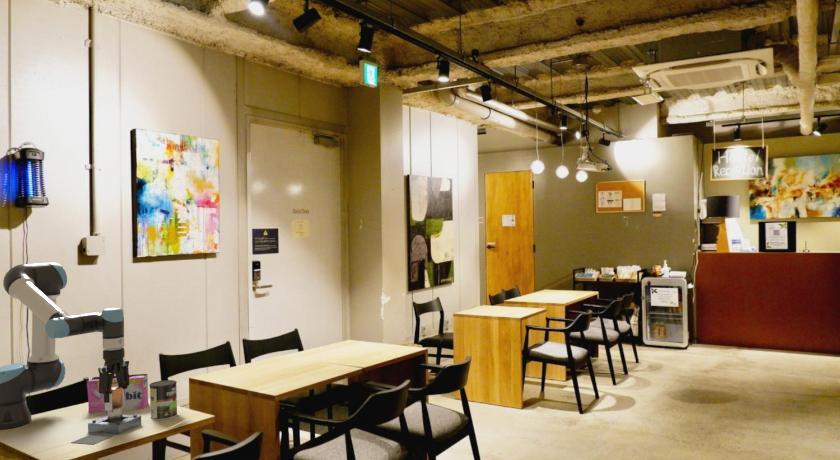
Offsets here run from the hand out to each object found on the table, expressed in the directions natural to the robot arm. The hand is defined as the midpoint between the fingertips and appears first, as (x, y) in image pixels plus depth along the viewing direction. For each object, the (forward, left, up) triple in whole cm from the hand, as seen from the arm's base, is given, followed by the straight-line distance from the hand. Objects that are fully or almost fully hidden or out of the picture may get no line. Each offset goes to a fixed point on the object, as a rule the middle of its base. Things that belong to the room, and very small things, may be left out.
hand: (114, 407), depth 236 cm
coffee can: (+8, +18, -9) cm, 21 cm away
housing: (0, 0, -8) cm, 8 cm away
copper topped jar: (0, 0, -5) cm, 5 cm away
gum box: (-21, +25, -9) cm, 34 cm away
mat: (+1, -12, -8) cm, 15 cm away
